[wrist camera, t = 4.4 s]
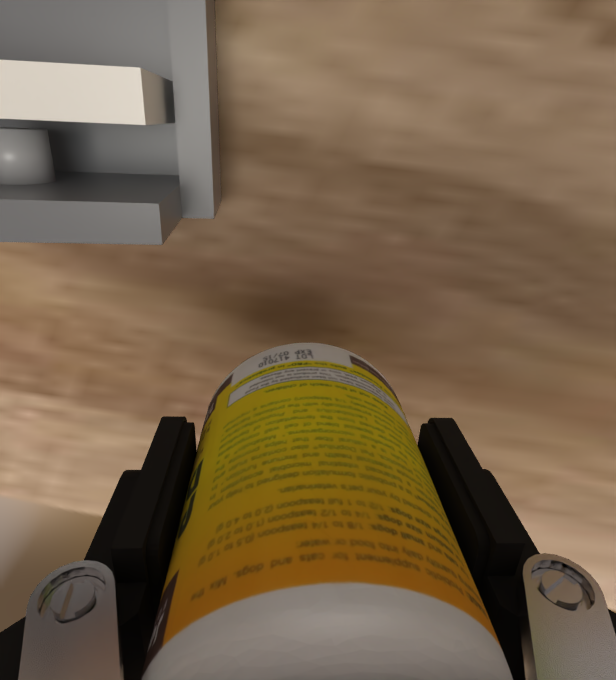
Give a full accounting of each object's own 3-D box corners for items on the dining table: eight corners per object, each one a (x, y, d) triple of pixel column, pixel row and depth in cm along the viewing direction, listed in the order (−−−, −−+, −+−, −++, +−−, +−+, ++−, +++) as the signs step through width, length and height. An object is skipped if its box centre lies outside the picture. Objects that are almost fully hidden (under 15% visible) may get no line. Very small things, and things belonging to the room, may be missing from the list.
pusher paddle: (173, 82, 15) (140, 67, 11) (176, 122, 16) (145, 125, 11) (-108, 66, 14) (-273, 43, 10) (-96, 110, 15) (-247, 107, 10)
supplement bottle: (186, 348, 13) (-64, 974, 3) (392, 320, 13) (699, 873, 3) (228, 504, 15) (146, 1120, 6) (401, 480, 15) (595, 1059, 6)
